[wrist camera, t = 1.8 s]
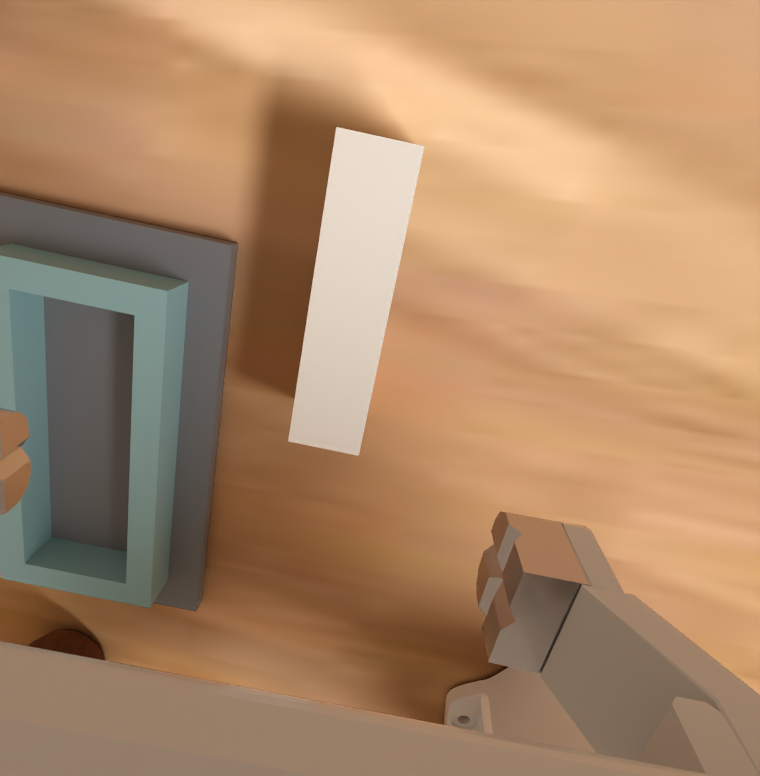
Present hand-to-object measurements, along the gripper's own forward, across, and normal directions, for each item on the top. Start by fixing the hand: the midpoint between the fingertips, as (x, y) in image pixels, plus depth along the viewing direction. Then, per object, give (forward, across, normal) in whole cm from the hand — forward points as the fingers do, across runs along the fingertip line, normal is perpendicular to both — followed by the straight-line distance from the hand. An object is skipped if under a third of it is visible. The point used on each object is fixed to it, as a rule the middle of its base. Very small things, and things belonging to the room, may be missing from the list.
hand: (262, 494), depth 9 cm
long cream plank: (+20, 0, 0) cm, 20 cm away
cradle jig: (+20, +13, +11) cm, 26 cm away
